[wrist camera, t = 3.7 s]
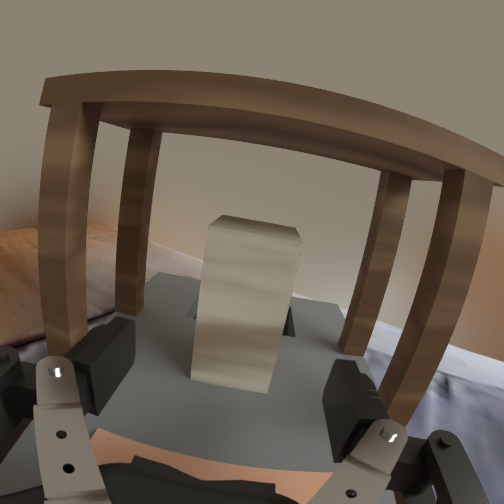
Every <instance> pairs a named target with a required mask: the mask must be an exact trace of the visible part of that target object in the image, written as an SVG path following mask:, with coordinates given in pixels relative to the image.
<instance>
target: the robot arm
mask: <svg viewBox="0 0 504 504" xmlns="http://www.w3.org/2000/svg"><path fill="white" fill-rule="evenodd" d="M135 355H136V324H135V321H134V320H132V319H128V318H124V317H121V316H116V317H114V318H113V319H112V320H111V321H110V322H109V323H108V324H107V325H106V324H101V325H99V326H96V327H94V328H92V329H91V330H90V331H89V332H88V333H87V334H86V336H84V337H83V338H81V341H78V342H77V343H76V344H75V345H74V346H73V347H72V348H71V349H70V350H69V351H68V352H67V353H66V354H64V355H63V356H48V357H45V358H43V359H41V360H40V361H39V362H38V363H37V364H32V363H27V362H22V361H20V358H19V354H18V352H17V350H16V349H14V348H12V347H10V346H0V464H1V463H2V462H3V460H4V459H5V457H6V456H7V454H8V453H9V452H10V450H11V449H12V447H13V446H14V444H15V443H16V442H17V440H18V439H19V438H20V436H21V435H22V433H23V432H24V431H25V429H26V428H27V427H28V425H29V424H30V423H31V421H32V420H34V426H35V436H36V445H37V453H38V460H39V467H40V473H41V478H42V485H39V486H36V487H32V488H29V489H25V490H22V491H18V492H14V493H10V494H6V495H2V496H0V504H300V503H298V502H296V501H295V500H293V499H291V498H289V497H286V496H284V495H281V494H278V493H275V489H276V484H275V483H264V482H255V481H247V480H200V479H198V478H195V477H193V476H191V475H189V474H186V473H184V472H182V471H180V470H178V469H176V468H173V467H171V466H169V465H167V464H163V463H160V462H156V461H153V460H149V459H146V458H143V457H140V456H137V455H134V457H133V459H132V462H131V463H119V462H118V463H107V464H101V465H97V461H96V458H95V455H94V452H93V448H92V445H91V442H90V438H89V434H88V431H87V427H86V423H85V419H84V417H85V416H86V414H87V413H90V414H93V415H95V416H99V414H100V413H101V411H102V410H103V408H104V407H105V405H106V404H107V402H108V401H109V399H110V398H111V397H112V395H113V394H114V392H115V391H116V389H117V388H118V386H119V385H120V383H121V382H122V380H123V379H124V377H125V376H126V375H127V373H128V372H129V370H130V369H131V367H132V366H133V363H134V360H135ZM376 390H377V389H376V387H375V385H374V382H373V381H372V380H371V379H370V378H369V377H368V376H367V375H366V374H365V373H360V371H359V368H358V366H357V364H356V362H355V361H354V360H346V359H336V360H335V361H334V363H333V366H332V369H331V372H330V374H329V377H328V380H327V382H326V385H325V388H324V391H323V396H322V403H323V409H324V414H325V419H326V424H327V429H328V435H329V440H330V446H331V451H332V457H333V462H334V463H341V464H340V466H339V467H338V468H337V469H336V470H335V472H334V473H333V474H332V475H331V477H330V478H329V479H328V480H327V481H326V482H325V484H324V485H323V486H322V487H321V488H320V489H319V491H318V492H317V493H316V494H315V495H314V496H313V497H312V498H311V499H310V500H309V502H308V503H307V504H377V502H378V501H379V499H380V497H381V496H382V494H383V492H384V490H391V491H393V492H394V496H395V501H396V504H490V503H489V501H488V499H487V496H486V494H485V492H484V490H483V487H482V485H481V483H480V481H479V479H478V477H477V474H476V472H475V470H474V468H473V466H472V464H471V462H470V460H469V458H468V456H467V454H466V452H465V450H464V448H463V446H462V444H461V442H460V440H459V439H458V438H457V437H456V436H455V435H454V434H453V433H451V432H448V431H445V430H436V431H434V432H432V433H431V434H430V436H429V437H428V439H427V440H425V439H420V438H414V437H410V436H408V433H407V431H406V429H405V428H404V427H403V426H402V425H401V424H400V423H398V422H396V421H393V420H390V419H389V417H388V414H387V412H386V410H385V407H384V405H383V403H382V400H381V398H379V397H380V396H379V394H378V391H376ZM432 485H434V488H435V490H436V493H437V502H436V499H435V496H434V493H433V490H432V487H431V486H432Z"/></svg>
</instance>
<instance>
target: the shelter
mask: <svg viewBox="0 0 504 504" xmlns="http://www.w3.org/2000/svg"><path fill="white" fill-rule="evenodd" d="M39 105H41V106H45V107H49V108H51V112H50V117H49V122H48V128H47V134H46V140H45V148H44V154H43V162H42V171H41V182H40V195H39V216H38V261H39V281H40V294H41V304H42V314H43V322H44V329H45V336H46V342H47V348H48V354H49V356H63V355H64V354H66V353H67V352H68V351H69V350H70V349H71V348H72V347H73V346H74V345H75V344H76V343H77V342H78V341H81V338H83V337H84V336H86V334H87V333H88V327H87V311H86V279H85V261H86V229H87V212H88V200H89V189H90V188H89V187H90V179H91V171H92V163H93V156H94V149H95V143H96V137H97V131H98V125H99V121H102V122H106V123H109V124H113V125H116V126H119V127H122V128H126V129H129V130H131V131H130V136H129V142H128V149H127V155H126V161H125V168H124V176H123V183H122V192H121V201H120V211H119V222H118V236H117V252H116V278H115V311H116V312H120V313H123V314H127V315H131V316H136V315H137V314H138V313H139V312H140V311H141V310H142V309H143V308H144V288H145V271H146V257H147V245H148V234H149V224H150V215H151V206H152V198H153V190H154V183H155V176H156V169H157V163H158V156H159V150H160V144H161V138H162V133H163V132H167V133H177V134H187V135H196V136H205V137H214V138H221V139H229V140H235V141H242V142H248V143H255V144H261V145H267V146H272V147H278V148H283V149H289V150H294V151H299V152H304V153H309V154H314V155H318V156H323V157H327V158H331V159H336V160H340V161H344V162H348V163H353V164H356V165H360V166H364V167H368V168H372V169H376V170H379V171H381V175H380V180H379V185H378V191H377V196H376V201H375V206H374V211H373V216H372V220H371V225H370V230H369V234H368V238H367V242H366V246H365V251H364V255H363V259H362V263H361V267H360V270H359V274H358V278H357V282H356V285H355V289H354V293H353V296H352V300H351V303H350V306H349V310H348V313H347V316H346V320H345V323H344V326H343V329H342V332H341V335H340V339H339V342H338V344H339V347H340V350H341V352H342V354H343V355H353V356H364V353H365V351H366V348H367V345H368V342H369V340H370V337H371V334H372V331H373V328H374V325H375V323H376V320H377V317H378V314H379V310H380V307H381V304H382V301H383V298H384V294H385V291H386V288H387V285H388V281H389V278H390V274H391V271H392V267H393V263H394V259H395V256H396V252H397V247H398V244H399V240H400V235H401V231H402V226H403V222H404V218H405V213H406V208H407V203H408V198H409V193H410V187H411V181H412V180H423V181H440V182H443V183H442V189H441V195H440V200H439V205H438V211H437V215H436V220H435V225H434V229H433V233H432V238H431V242H430V246H429V250H428V254H427V257H426V261H425V265H424V268H423V272H422V275H421V278H420V282H419V285H418V288H417V291H416V295H415V298H414V301H413V304H412V307H411V310H410V313H409V315H408V318H407V321H406V324H405V327H404V329H403V332H402V335H401V337H400V340H399V342H398V345H397V347H396V350H395V352H394V355H393V357H392V360H391V362H390V364H389V367H388V369H387V371H386V374H385V376H384V378H383V380H382V382H381V385H380V387H379V389H378V394H379V396H380V397H379V398H381V400H382V403H383V405H384V407H385V410H386V412H387V414H388V417H389V419H390V420H393V421H396V422H398V423H400V424H401V425H402V426H403V427H404V428H405V427H406V425H407V423H408V422H409V420H410V418H411V417H412V415H413V413H414V411H415V410H416V408H417V406H418V404H419V403H420V401H421V399H422V397H423V395H424V393H425V391H426V390H427V388H428V386H429V384H430V382H431V380H432V378H433V376H434V374H435V372H436V370H437V368H438V365H439V363H440V361H441V359H442V357H443V355H444V352H445V350H446V348H447V345H448V343H449V341H450V338H451V336H452V334H453V331H454V329H455V326H456V323H457V321H458V318H459V315H460V312H461V310H462V307H463V305H464V302H465V299H466V296H467V293H468V290H469V287H470V284H471V280H472V277H473V274H474V270H475V267H476V263H477V260H478V255H479V251H480V248H481V244H482V240H483V236H484V231H485V226H486V222H487V217H488V212H489V206H490V201H491V195H492V188H493V186H499V187H504V157H503V156H501V155H500V154H498V153H496V152H494V151H492V150H490V149H488V148H486V147H484V146H482V145H480V144H478V143H476V142H474V141H472V140H470V139H467V138H465V137H463V136H461V135H459V134H456V133H454V132H452V131H449V130H447V129H445V128H442V127H440V126H437V125H435V124H432V123H430V122H427V121H425V120H422V119H420V118H417V117H414V116H411V115H409V114H406V113H403V112H400V111H397V110H394V109H391V108H388V107H385V106H382V105H378V104H375V103H371V102H368V101H365V100H362V99H358V98H354V97H350V96H347V95H343V94H339V93H334V92H330V91H327V90H322V89H318V88H313V87H309V86H303V85H299V84H294V83H288V82H282V81H277V80H270V79H264V78H257V77H249V76H241V75H233V74H223V73H222V74H221V73H210V72H197V71H173V70H131V71H130V70H129V71H108V72H94V73H83V74H74V75H66V76H58V77H52V78H46V79H45V83H44V87H43V91H42V95H41V100H40V104H39Z"/></svg>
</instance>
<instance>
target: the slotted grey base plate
mask: <svg viewBox="0 0 504 504" xmlns="http://www.w3.org/2000/svg"><path fill="white" fill-rule="evenodd" d="M200 284H201V280H197V279H191V278H186V277H181V276H176V275H172V274H167V273H162V272H158V273H157V274H156V275H155V276H154V277H153V278H151V279H150V280H149V281H148V282H147V283H146V284H145V288H144V308H143V309H142V310H141V311H140V312H139V313H138V314H137V315H136V316H131V315H127V314H123V313H120V312H116V311H115V312H114V313H113V314H112V315H111V316H110V317H109V318H107V319H106V320H105V321H104V322H103V323H102V324H106V325H107V324H108V323H109V322H110V321H111V320H112V319H113V318H114V317H116V316H121V317H124V318H128V319H132V320H134V321H135V324H136V355H135V360H134V363H133V366H132V367H131V369H130V370H129V372H128V373H127V375H126V376H125V377H124V379H123V380H122V382H121V383H120V385H119V386H118V388H117V389H116V391H115V392H114V394H113V395H112V397H111V398H110V399H109V401H108V402H107V404H106V405H105V407H104V408H103V410H102V411H101V413H100V414H99V416H95V415H93V414H90V413H87V414H86V416H85V417H84V419H85V423H86V427H87V431H88V434H89V438H90V442H91V445H92V448H93V452H94V455H95V458H96V461H97V465H101V464H107V463H118V462H119V463H131V462H132V459H133V457H134V455H137V456H140V457H143V458H146V459H149V460H153V461H156V462H160V463H163V464H167V465H169V466H171V467H173V468H176V469H178V470H180V471H182V472H184V473H186V474H189V475H191V476H193V477H195V478H198V479H200V480H247V481H255V482H264V483H275V484H276V489H275V493H278V494H281V495H284V496H286V497H289V498H291V499H293V500H295V501H296V502H298V503H300V504H307V503H308V502H309V500H310V499H311V498H312V497H313V496H314V495H315V494H316V493H317V492H318V491H319V489H320V488H321V487H322V486H323V485H324V484H325V482H326V481H327V480H328V479H329V478H330V477H331V475H332V474H333V473H334V472H335V470H336V469H337V468H338V467H339V466H340V464H341V463H334V462H333V457H332V451H331V446H330V440H329V435H328V429H327V424H326V419H325V414H324V409H323V403H322V396H323V391H324V388H325V385H326V382H327V380H328V377H329V374H330V372H331V369H332V366H333V363H334V361H335V360H336V359H346V360H354V361H355V362H356V364H357V366H358V368H359V371H360V373H365V374H366V375H367V376H368V377H369V378H370V379H371V380H372V381H373V382H374V385H375V387H376V389H377V390H376V391H378V387H377V385H376V382H375V380H374V378H373V376H372V374H371V372H370V370H369V368H368V365H367V363H366V361H365V359H364V357H363V356H353V355H343V354H342V352H341V350H340V347H339V344H338V342H339V339H340V335H341V332H342V329H343V326H344V323H345V318H344V316H343V314H342V313H341V311H340V309H339V307H338V305H337V304H332V303H326V302H320V301H314V300H308V299H302V298H296V297H291V300H290V304H289V309H288V313H287V317H286V321H285V325H284V329H283V334H282V338H281V342H280V346H279V350H278V354H277V357H276V361H275V365H274V369H273V373H272V377H271V381H270V384H269V388H268V392H267V394H265V393H259V392H252V391H246V390H240V389H234V388H229V387H223V386H218V385H213V384H208V383H204V382H199V381H194V380H190V378H191V366H192V356H193V346H194V336H195V327H196V318H197V309H198V300H199V292H200ZM39 485H42V478H41V473H40V467H39V460H38V453H37V445H36V436H35V426H34V420H32V421H31V423H30V424H29V425H28V427H27V428H26V429H25V431H24V432H23V433H22V435H21V436H20V438H19V439H18V440H17V442H16V443H15V444H14V446H13V447H12V449H11V450H10V452H9V453H8V454H7V456H6V457H5V459H4V460H3V462H2V463H1V464H0V496H2V495H6V494H10V493H14V492H18V491H22V490H25V489H29V488H32V487H36V486H39ZM377 504H396V501H395V496H394V492H393V491H391V490H384V492H383V494H382V496H381V497H380V499H379V501H378V502H377Z"/></svg>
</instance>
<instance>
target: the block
mask: <svg viewBox="0 0 504 504" xmlns="http://www.w3.org/2000/svg"><path fill="white" fill-rule="evenodd" d="M302 245H303V242H302V240H301V238H300V236H299V234H298V232H297V230H296V228H294V227H288V226H283V225H278V224H272V223H267V222H261V221H255V220H250V219H244V218H238V217H232V216H227V215H222V216H220V217H219V218H218V219H216V220H215V221H214V222H213V223H211V224H210V225H209V226H208V232H207V239H206V246H205V253H204V260H203V268H202V276H201V284H200V292H199V300H198V309H197V318H196V327H195V336H194V346H193V356H192V366H191V378H190V380H194V381H199V382H204V383H208V384H213V385H218V386H223V387H229V388H234V389H240V390H246V391H252V392H259V393H265V394H267V392H268V388H269V384H270V381H271V377H272V373H273V369H274V365H275V361H276V357H277V354H278V350H279V346H280V342H281V338H282V334H283V329H284V325H285V321H286V317H287V313H288V309H289V304H290V300H291V296H292V291H293V287H294V282H295V278H296V273H297V269H298V264H299V260H300V254H301V250H302Z"/></svg>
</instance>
